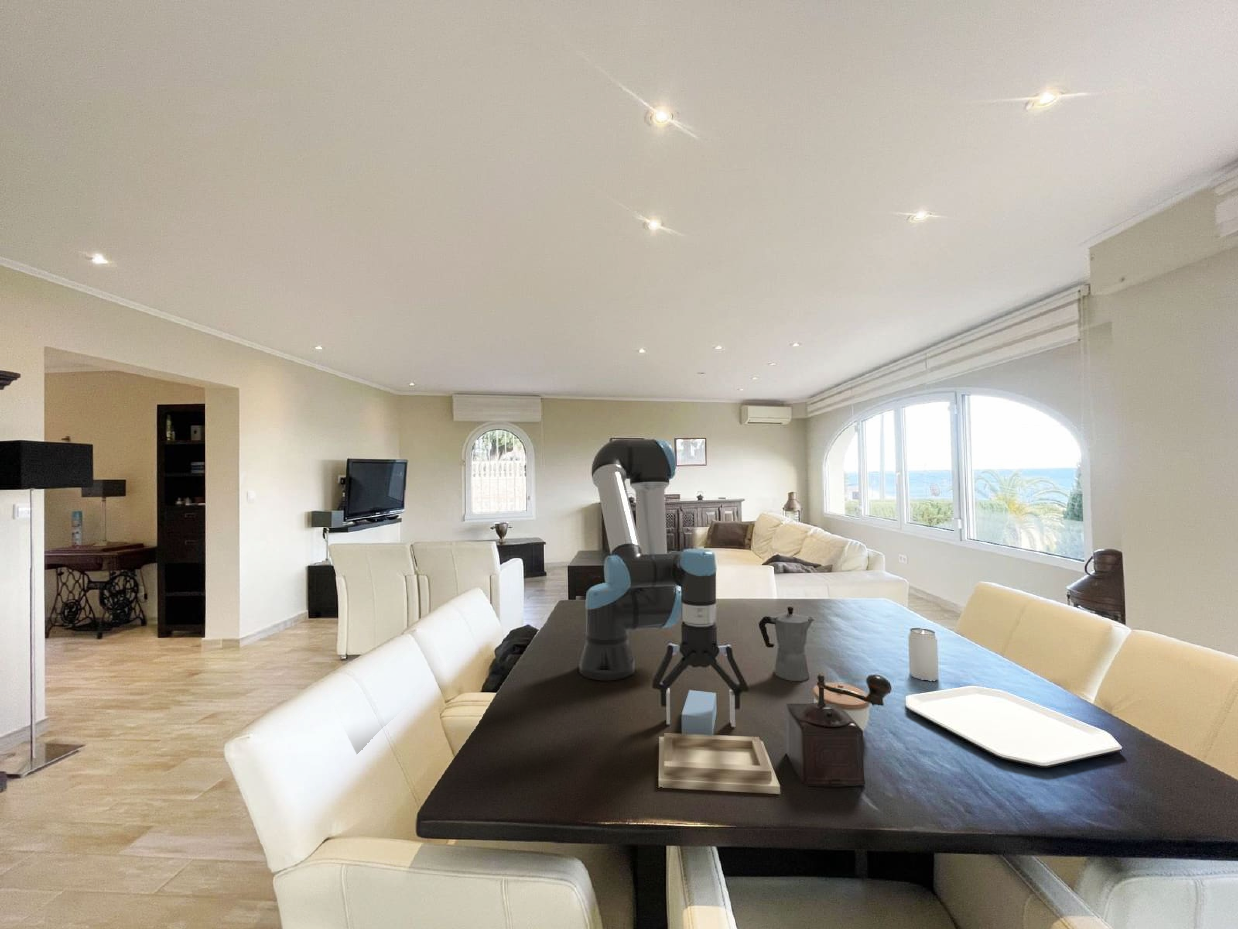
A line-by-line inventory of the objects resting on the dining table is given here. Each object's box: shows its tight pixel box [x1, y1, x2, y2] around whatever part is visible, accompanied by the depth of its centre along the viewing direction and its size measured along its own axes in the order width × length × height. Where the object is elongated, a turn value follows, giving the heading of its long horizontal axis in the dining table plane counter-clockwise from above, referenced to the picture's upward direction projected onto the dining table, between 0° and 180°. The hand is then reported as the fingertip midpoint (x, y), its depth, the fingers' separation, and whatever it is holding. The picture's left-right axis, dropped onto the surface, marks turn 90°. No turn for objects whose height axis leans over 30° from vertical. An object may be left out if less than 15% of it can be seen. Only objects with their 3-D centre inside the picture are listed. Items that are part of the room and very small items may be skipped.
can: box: [907, 627, 939, 681], centre depth 126 cm, size 6×6×12 cm
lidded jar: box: [812, 682, 871, 731], centre depth 99 cm, size 11×11×9 cm
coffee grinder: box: [785, 673, 892, 788], centre depth 86 cm, size 16×11×18 cm
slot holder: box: [658, 732, 781, 795], centre depth 87 cm, size 20×14×3 cm
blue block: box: [681, 689, 717, 735], centre depth 102 cm, size 12×6×4 cm, turn 164°
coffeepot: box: [758, 606, 815, 682], centre depth 128 cm, size 15×9×18 cm, turn 95°
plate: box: [904, 685, 1123, 769], centre depth 100 cm, size 29×29×2 cm
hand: (700, 722), depth 102 cm, fingers open, 13 cm apart
